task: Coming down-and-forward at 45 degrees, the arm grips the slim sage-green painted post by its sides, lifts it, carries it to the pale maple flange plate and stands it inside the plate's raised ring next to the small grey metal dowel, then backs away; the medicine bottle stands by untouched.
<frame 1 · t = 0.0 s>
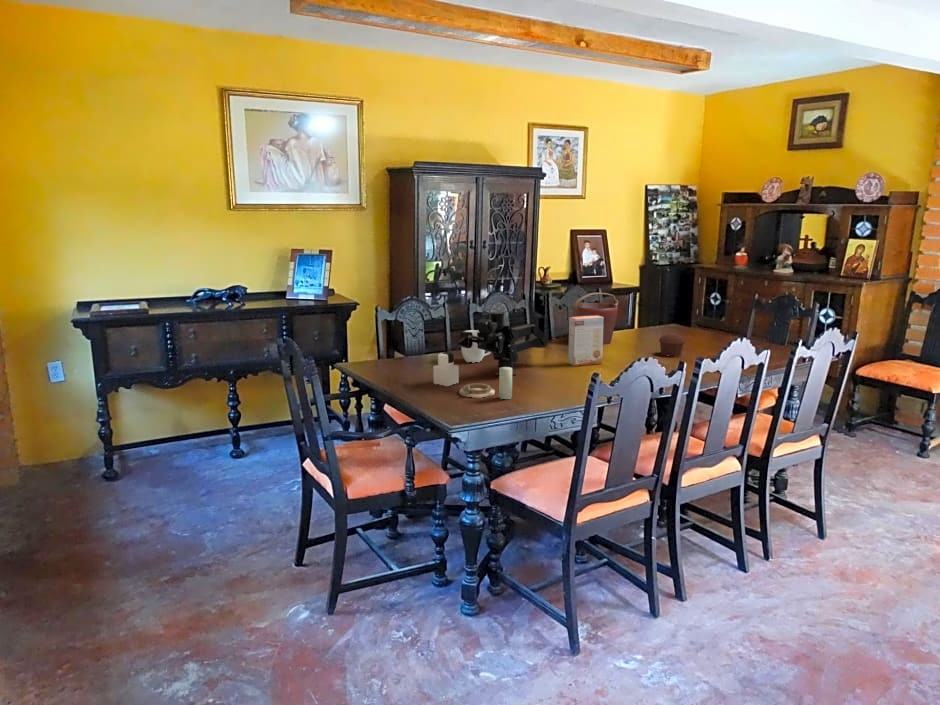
hand: (468, 345, 255), 17 cm above the table, tool horizontal, fingers open, 9 cm apart
mug: (475, 361, 303), on the table
post: (505, 398, 245), on the table
medicine bottle: (446, 383, 266), on the table
cracker box: (584, 364, 299), on the table
muffin: (670, 355, 317), on the table
bucket: (595, 342, 346), on the table
flange plate: (477, 393, 252), on the table
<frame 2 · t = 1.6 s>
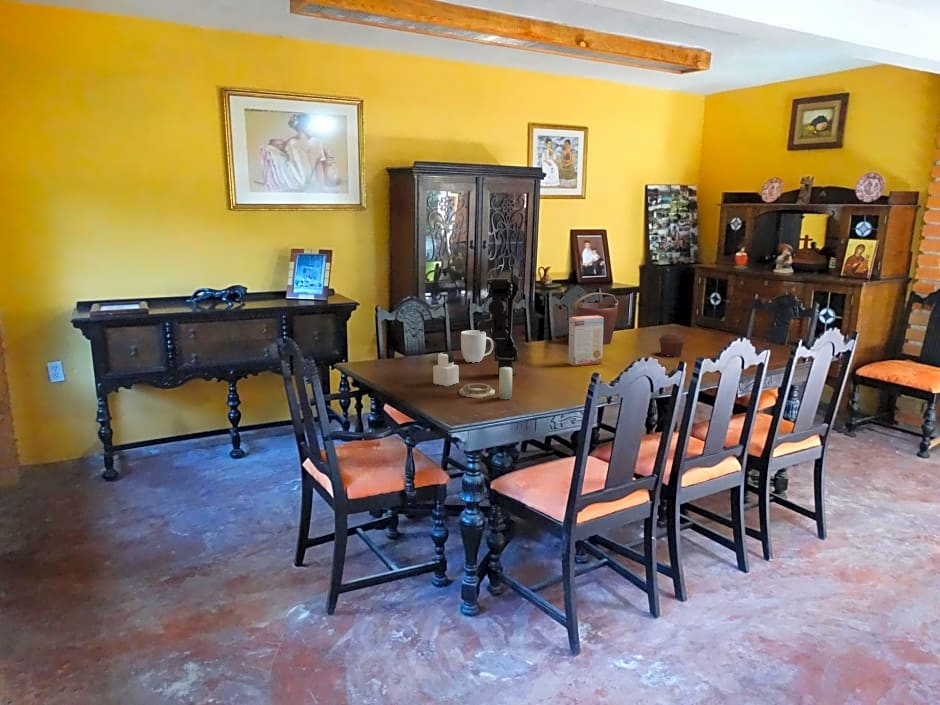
hand: (499, 353, 258), 13 cm above the table, tool pointing down, fingers open, 9 cm apart
nothing on the table moved.
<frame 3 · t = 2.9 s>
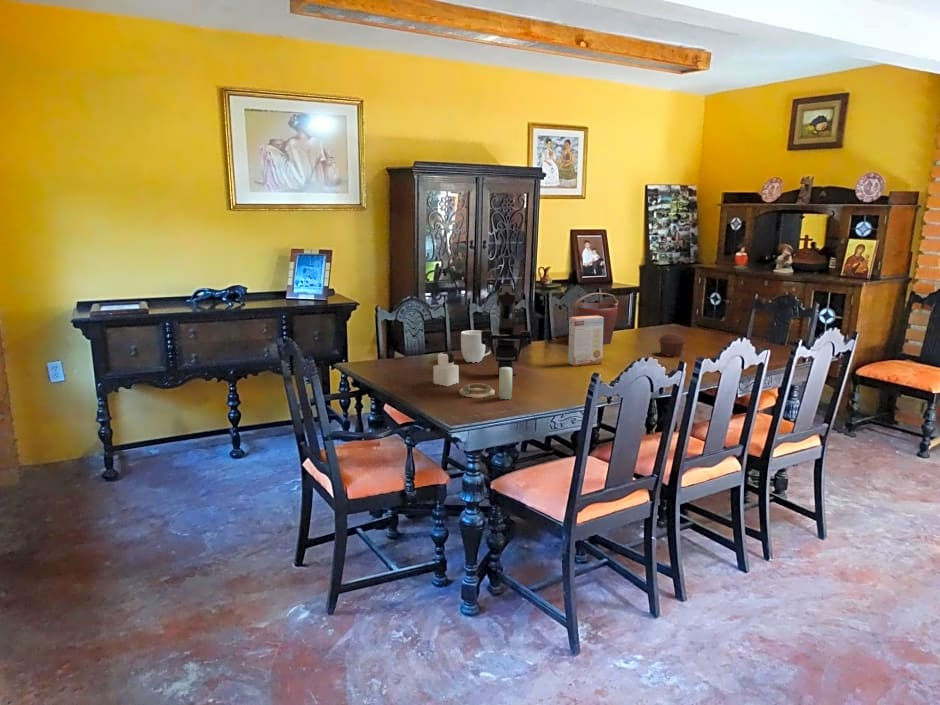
hand: (506, 356, 250), 13 cm above the table, tool tilted 45°, fingers open, 9 cm apart
nothing on the table moved.
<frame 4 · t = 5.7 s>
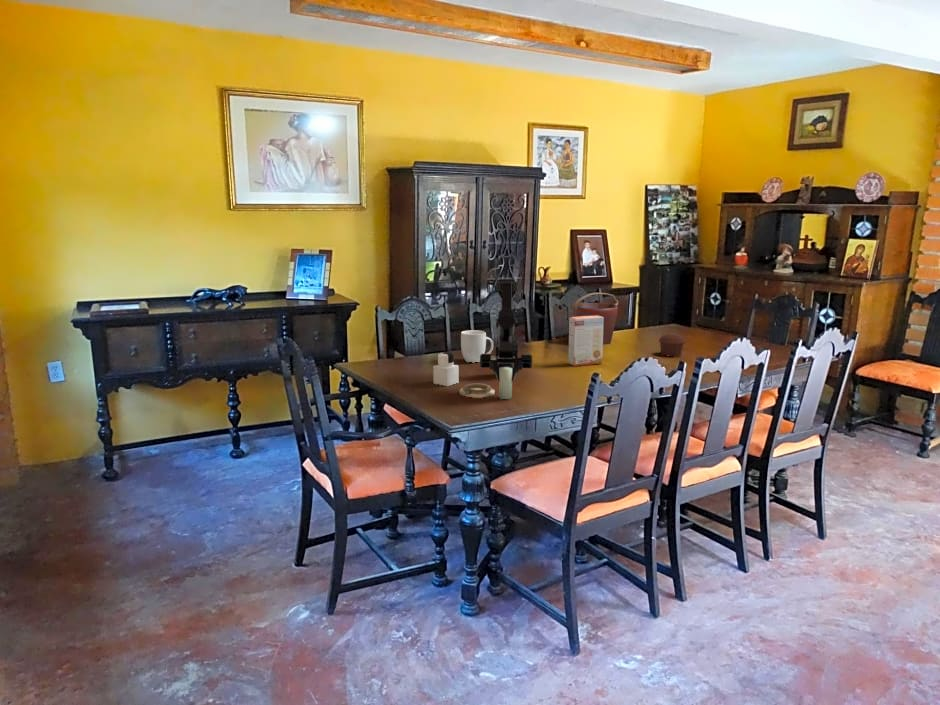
hand: (505, 381, 243), 7 cm above the table, tool tilted 45°, fingers closed on post, 5 cm apart
post: (505, 398, 245), on the table, touching gripper
everything else where it was.
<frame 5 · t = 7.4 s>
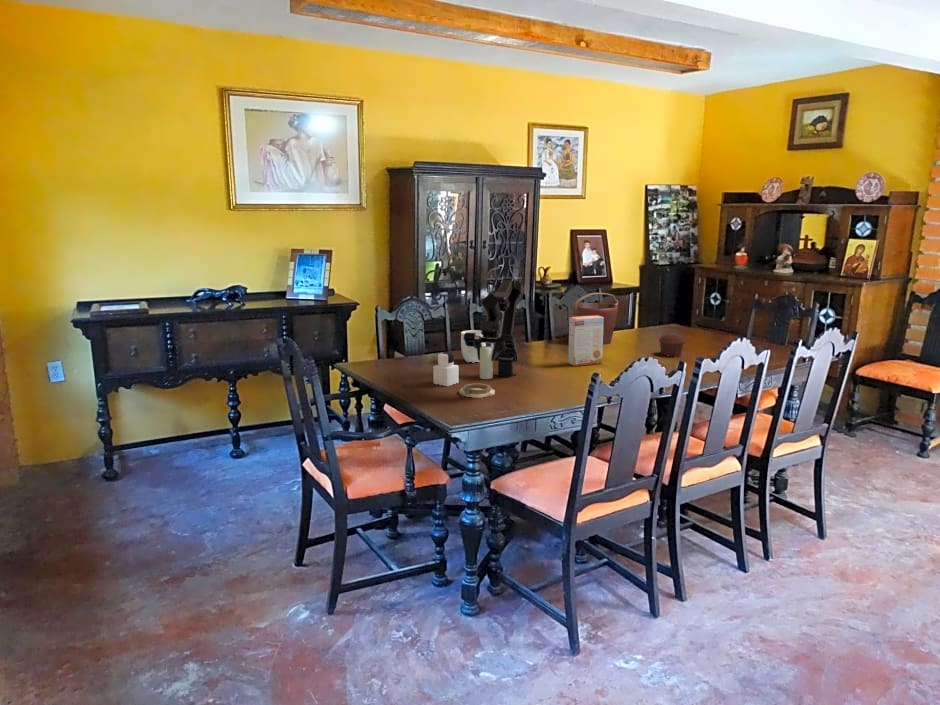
hand: (485, 360, 246), 13 cm above the table, tool tilted 45°, fingers closed on post, 5 cm apart
post: (486, 377, 248), point 7 cm above the table, touching gripper
everything else where it was.
when the fingers open (8 cm above the table, at t = 8.9 s): post stays where it is, resting on flange plate.
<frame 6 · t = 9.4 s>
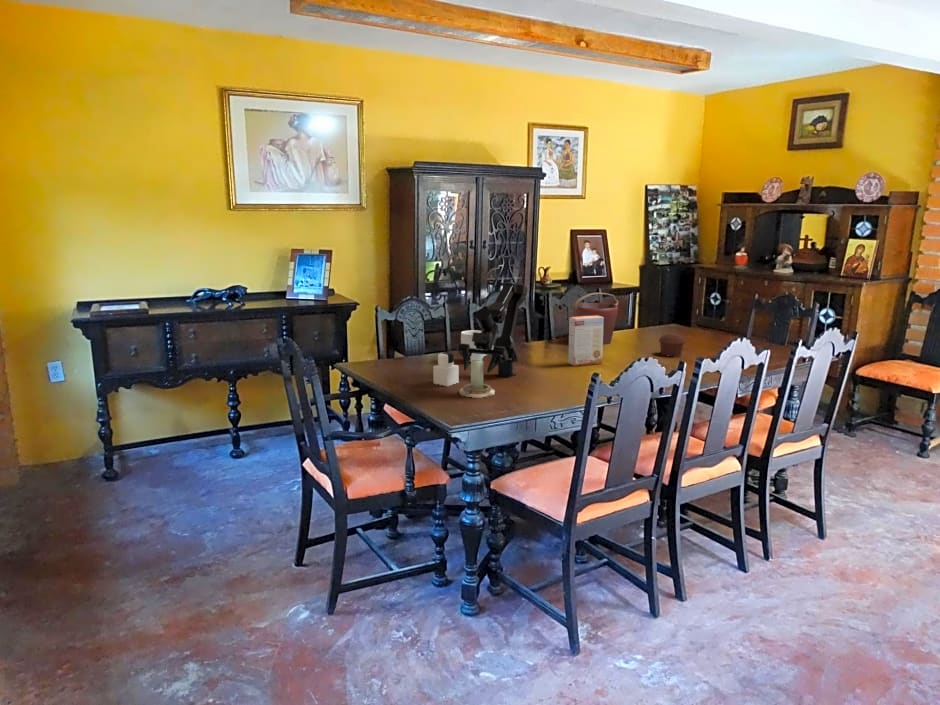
hand: (476, 371, 249), 9 cm above the table, tool tilted 45°, fingers open, 9 cm apart
post: (477, 390, 252), point 1 cm above the table, touching flange plate
everything else where it was.
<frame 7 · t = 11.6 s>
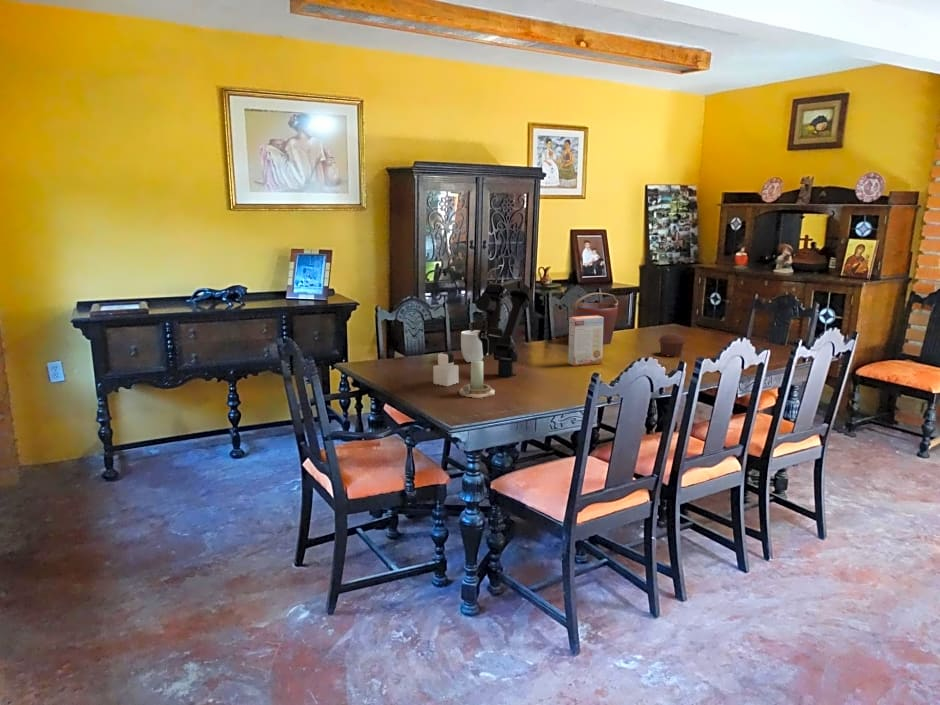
hand: (486, 355, 261), 12 cm above the table, tool tilted 20°, fingers open, 9 cm apart
nothing on the table moved.
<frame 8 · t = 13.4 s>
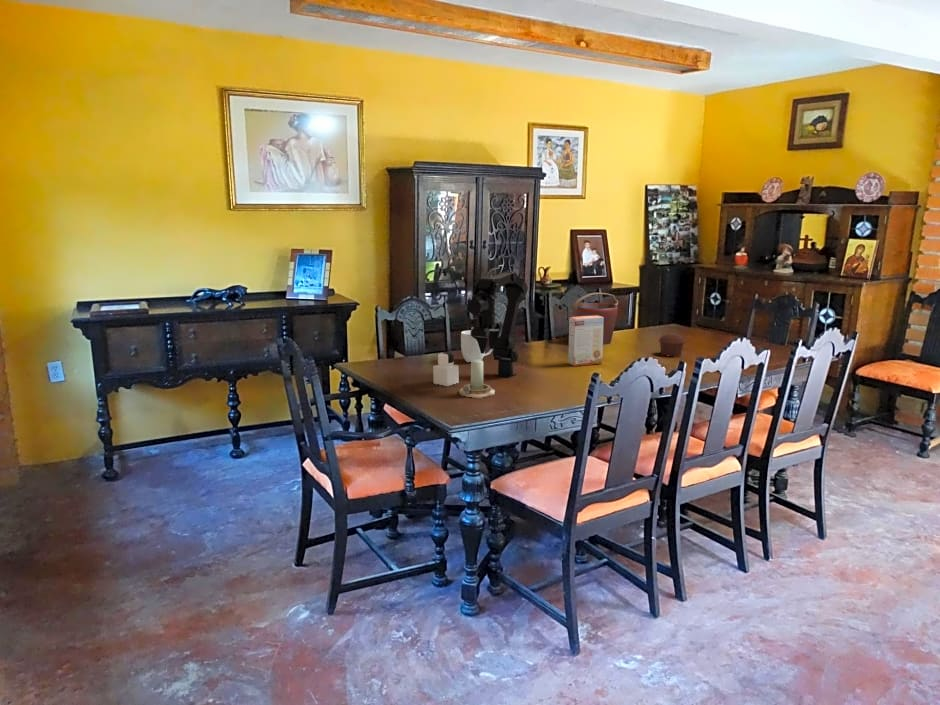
hand: (486, 351, 262), 13 cm above the table, tool pointing down, fingers open, 9 cm apart
nothing on the table moved.
at the end: post 0.1 cm off-centre on the flange plate, point 1.0 cm above the flange plate's base; post tilted 0°; the gripper is holding nothing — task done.
